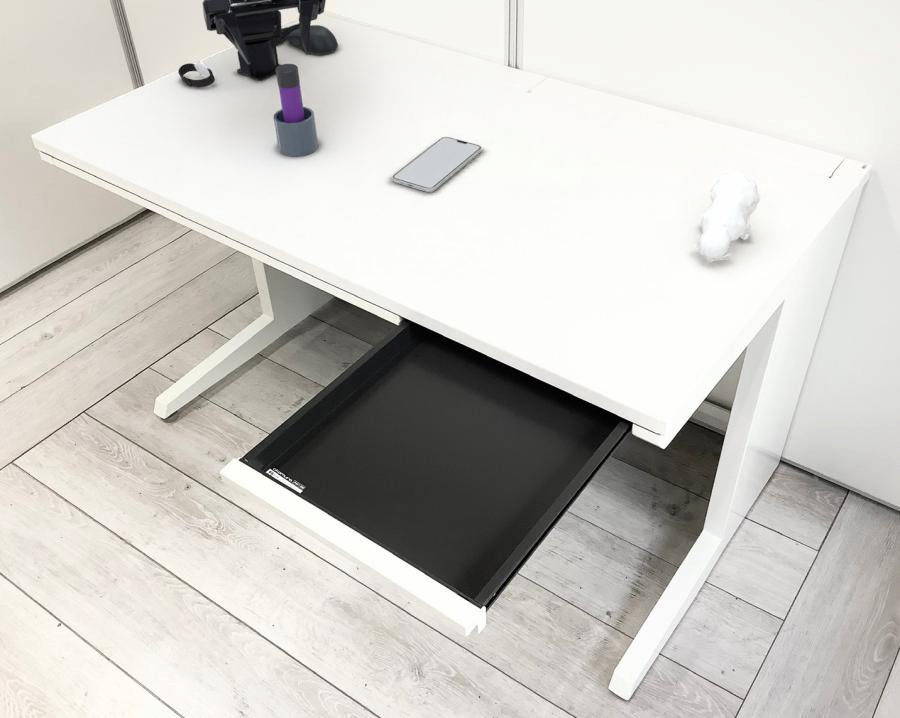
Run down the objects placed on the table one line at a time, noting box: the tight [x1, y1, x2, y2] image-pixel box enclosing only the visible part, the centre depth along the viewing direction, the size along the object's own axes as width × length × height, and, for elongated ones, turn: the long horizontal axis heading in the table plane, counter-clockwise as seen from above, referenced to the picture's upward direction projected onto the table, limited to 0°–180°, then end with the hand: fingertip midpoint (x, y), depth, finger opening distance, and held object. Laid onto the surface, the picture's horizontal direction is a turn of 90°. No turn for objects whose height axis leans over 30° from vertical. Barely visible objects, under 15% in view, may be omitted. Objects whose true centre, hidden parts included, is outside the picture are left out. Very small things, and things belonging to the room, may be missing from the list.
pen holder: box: [273, 106, 319, 158], centre depth 140 cm, size 6×6×6 cm
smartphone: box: [391, 136, 482, 193], centre depth 135 cm, size 7×1×15 cm
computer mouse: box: [275, 23, 339, 56], centre depth 172 cm, size 10×15×4 cm
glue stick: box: [275, 63, 305, 123], centre depth 137 cm, size 3×3×12 cm
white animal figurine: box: [693, 172, 761, 264], centre depth 115 cm, size 6×8×12 cm
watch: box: [177, 60, 216, 88], centre depth 160 cm, size 8×5×4 cm, turn 54°
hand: (278, 58), depth 138 cm, fingers open, 9 cm apart
